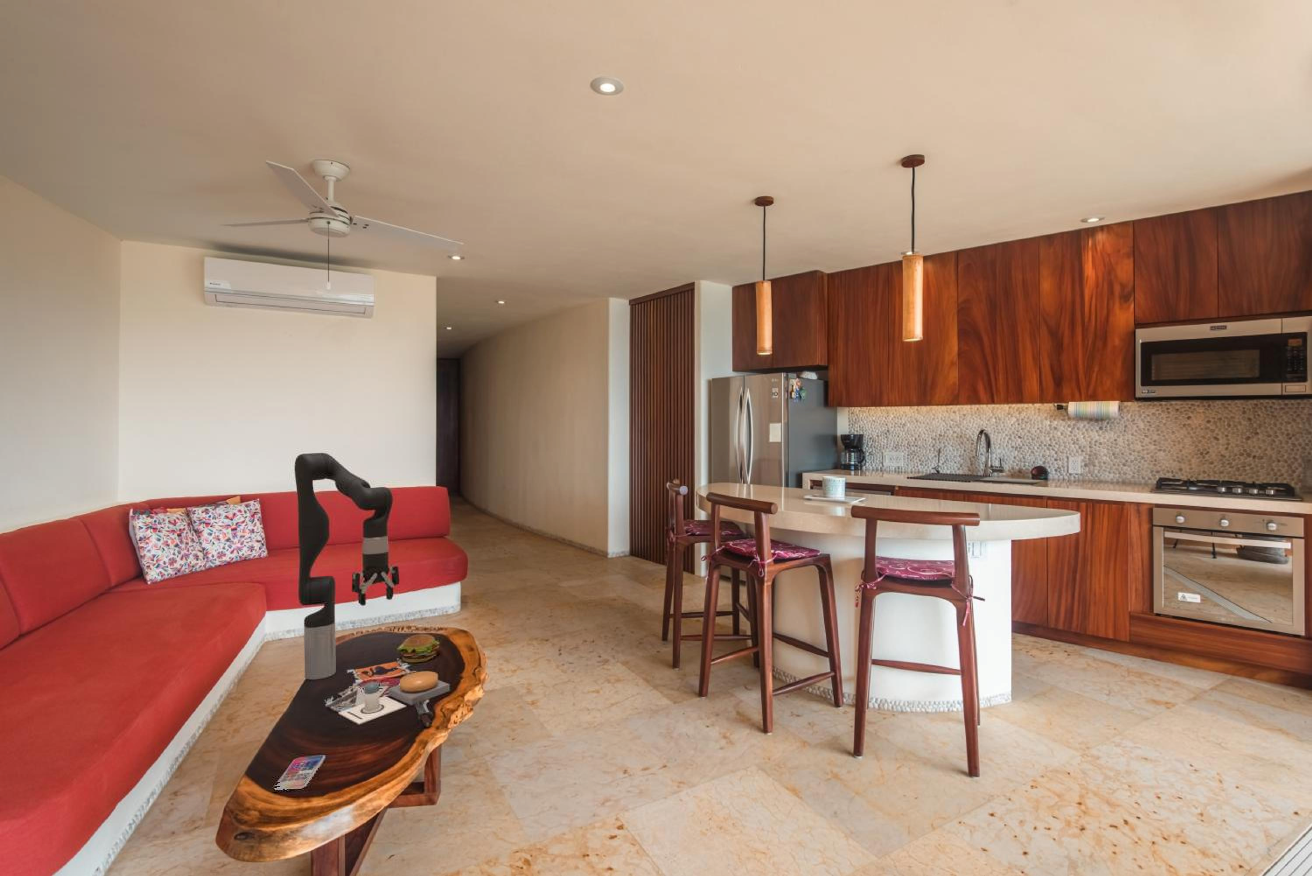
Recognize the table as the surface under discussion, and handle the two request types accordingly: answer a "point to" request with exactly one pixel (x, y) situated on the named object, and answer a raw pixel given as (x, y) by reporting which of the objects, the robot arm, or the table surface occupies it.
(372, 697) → the beige capped tube
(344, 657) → the table surface
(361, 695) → the gaming console
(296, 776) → the smartphone
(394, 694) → the button base
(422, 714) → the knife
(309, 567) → the robot arm
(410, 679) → the button
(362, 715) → the paper
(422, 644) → the food
